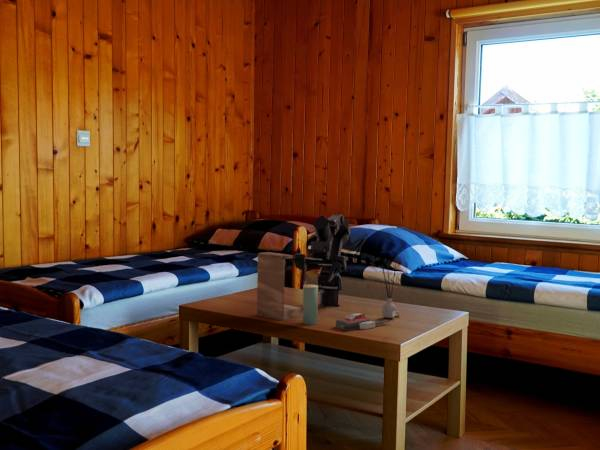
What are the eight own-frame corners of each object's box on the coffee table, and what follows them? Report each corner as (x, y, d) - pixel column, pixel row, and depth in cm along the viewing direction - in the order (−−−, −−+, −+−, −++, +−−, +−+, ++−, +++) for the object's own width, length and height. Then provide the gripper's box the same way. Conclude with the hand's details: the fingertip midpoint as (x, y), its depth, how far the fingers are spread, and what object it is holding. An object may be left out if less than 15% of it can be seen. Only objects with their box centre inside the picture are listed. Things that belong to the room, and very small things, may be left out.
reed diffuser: (387, 321, 228) (388, 265, 227) (371, 317, 233) (373, 262, 231) (403, 317, 236) (405, 262, 234) (388, 314, 240) (390, 260, 239)
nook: (278, 310, 242) (279, 251, 240) (301, 315, 234) (303, 254, 232) (256, 314, 234) (257, 253, 232) (280, 320, 226) (282, 256, 224)
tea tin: (314, 321, 226) (315, 284, 225) (319, 324, 221) (320, 286, 220) (300, 321, 224) (301, 284, 223) (304, 325, 219) (305, 287, 218)
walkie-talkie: (350, 333, 210) (390, 325, 223) (350, 320, 210) (390, 312, 223) (331, 328, 217) (371, 320, 230) (331, 315, 216) (371, 308, 229)
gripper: (295, 231, 236) (286, 265, 226) (345, 233, 231) (338, 268, 221) (300, 250, 244) (292, 284, 234) (349, 253, 239) (342, 287, 229)
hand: (315, 280), depth 229 cm, fingers open, 9 cm apart
